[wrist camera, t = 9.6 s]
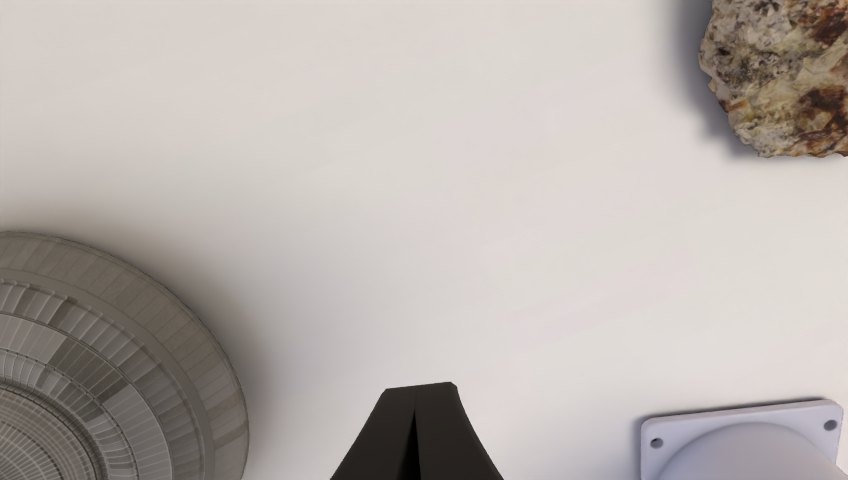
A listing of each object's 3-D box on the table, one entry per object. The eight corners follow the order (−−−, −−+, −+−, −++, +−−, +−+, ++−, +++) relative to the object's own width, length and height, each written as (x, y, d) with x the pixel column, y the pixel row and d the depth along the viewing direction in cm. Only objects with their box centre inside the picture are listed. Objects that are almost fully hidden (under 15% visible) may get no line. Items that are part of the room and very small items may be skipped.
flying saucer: (143, 161, 17) (14, 192, 12) (319, 478, 21) (284, 608, 16) (-191, 298, 18) (-436, 380, 13) (34, 568, 23) (-85, 711, 17)
